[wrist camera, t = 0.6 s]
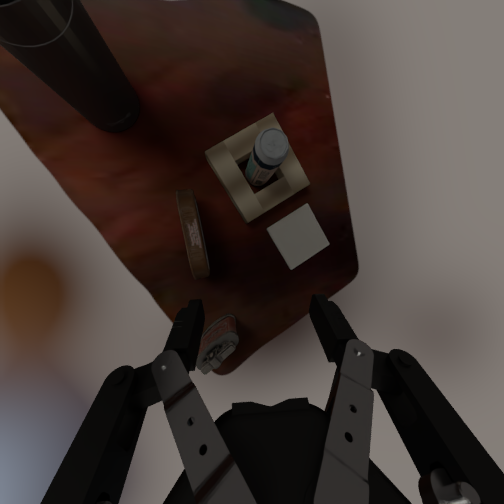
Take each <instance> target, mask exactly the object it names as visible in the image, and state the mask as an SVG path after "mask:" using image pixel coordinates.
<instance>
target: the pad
mask: <svg viewBox="0 0 504 504" xmlns="http://www.w3.org/2000/svg"><path fill="white" fill-rule="evenodd" d="M267 231H268V233H269V235H270V236H271V238H272V240H273V241H274V243H275V245H276V246H277V248H278V250H279V251H280V253H281V255H282V256H283V258H284V260H285V261H286V263H287V265H288V266H289V268H290V270H292V269H294V268H295V267H297V266H298V265H300V264H301V263H303V262H304V261H306V260H307V259H309V258H310V257H312V256H313V255H315V254H316V253H318V252H319V251H321V250H322V249H324V248H325V247H327V246H328V245H330V244H329V242H328V240H327V238H326V237H325V235H324V233H323V231H322V229H321V227H320V225H319V224H318V222H317V220H316V218H315V216H314V214H313V212H312V211H311V209H310V207H309V205H308V203H306V204H305V205H303V206H302V207H300V208H298V209H297V210H295V211H294V212H292V213H291V214H289V215H287V216H286V217H284V218H283V219H281V220H279V221H278V222H276V223H275V224H273V225H272V226H270V227H268V228H267Z"/></svg>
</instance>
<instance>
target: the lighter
mask: <svg viewBox="0 0 504 504" xmlns="http://www.w3.org/2000/svg"><path fill="white" fill-rule="evenodd" d="M235 324H236V319H235V316H234V315H232V314H226V315H224V316H223V317H221V318H219V319H218V320H217V321H215V322H214V323H213V324H212V325H211V326H209V327H208V328H207V330H206V331H205V332H204V333H203V334H202V337H201V346H200V351H199V355H198V357H197V362H196V366H197V368H198V369H199V370H201V372H202V373H203V374H207V373H208V372H210V371H211V370H212V369H213V368H214V369H217V368H218V367H219V366H220V365H221V363H222V362H223V360H224V359H225V358H226V357H227V356H228V355H230V354H231V353H232V352H233V351H234V350H235V347H236V346H237V344H238V342H239V338H238V335H237V332H236V325H235Z"/></svg>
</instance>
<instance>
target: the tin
mask: <svg viewBox="0 0 504 504" xmlns="http://www.w3.org/2000/svg"><path fill="white" fill-rule="evenodd" d="M176 199H177V206H178V211H179V216H180V221H181V225H182V230H183V235H184V240H185V244H186V249H187V254H188V259H189V264H190V267H191V271H192V274H193V277H194V279H195V280H197V279H200V278H205V277H208V276H209V275H210V267H209V261H208V256H207V250H206V245H205V239H204V234H203V229H202V224H201V219H200V215H199V210H198V206H197V201H196V198H195V195H194V192H193V190H192V189H186V190H176Z"/></svg>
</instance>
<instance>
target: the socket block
mask: <svg viewBox="0 0 504 504" xmlns="http://www.w3.org/2000/svg"><path fill="white" fill-rule="evenodd" d="M272 127H273V128H277V129H280V130H282V129H281V127H280V126H279V124H278V122H277V120H276V118H275V116H274V114H273V113H272V114H270V115H268V116H266V117H265V118H263V119H261V120H259V121H258V122H256V123H254V124H252V125H251V126H249V127H247V128H245V129H244V130H242V131H240V132H238V133H237V134H235V135H233V136H231V137H230V138H228V139H226V140H224V141H222V142H221V143H219V144H217V145H215V146H214V147H212V148H210V149H208V150H207V151H205V156H206V160H207V161H208V163H209V164H210V166H211V168H212V169H213V171H214V173H215V174H216V176H217V178H218V179H219V181H220V182H221V184H222V186H223V187H224V189H225V191H226V192H227V194H228V195H229V197H230V199H231V200H232V202H233V204H234V205H235V207H236V209H237V210H238V212H239V213H240V215H241V217H242V218H243V220H244V222H245V223H246V224H247V223H248V222H250V221H252V220H253V219H255V218H256V217H258V216H260V215H261V214H263V213H264V212H266V211H268V210H269V209H271V208H272V207H274V206H276V205H277V204H279V203H280V202H282V201H284V200H285V199H287V198H289V197H290V196H292V195H293V194H295V193H297V192H298V191H300V190H301V189H303V188H305V187H306V186H308V185H309V184H310V182H309V181H308V179H307V177H306V175H305V173H304V171H303V169H302V167H301V165H300V163H299V162H298V160H297V158H296V156H295V154H294V152H293V150H292V148H291V146H290V144H289V143H288V144H289V152H288V155H287V157H286V159H285V160H284V161H283V162H282V164H281V165H280V166H279V167H278V169H277V170H276V171H275V174H276V176H277V177H278V179H279V180H277V181H275V182H274V183H272V184H271V185H269V186H267V187H266V188H264V189H262V190H261V191H259V192H257V193H256V194H254V193H253V191H252V189H251V188H250V186H249V184H248V183H247V181H246V179H245V177H244V176H243V174H242V172H241V171H240V169H239V167H238V166H237V165H239V164H240V163H242V162H244V161H245V160H247V159H249V158H250V155H251V152H252V150H253V147H254V144H255V141H256V138H257V136H258V135H259V133H260V132H262V131H263V130H265V129H268V128H272Z"/></svg>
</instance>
